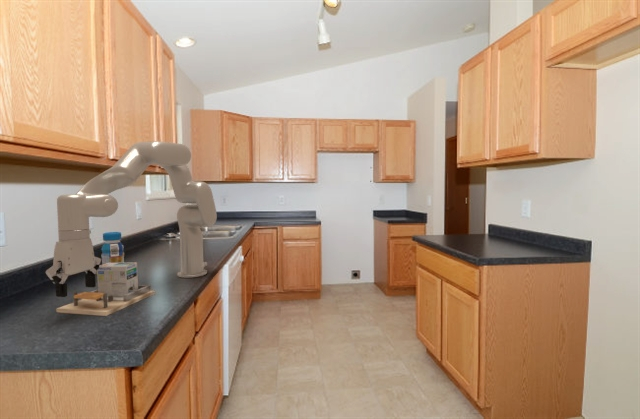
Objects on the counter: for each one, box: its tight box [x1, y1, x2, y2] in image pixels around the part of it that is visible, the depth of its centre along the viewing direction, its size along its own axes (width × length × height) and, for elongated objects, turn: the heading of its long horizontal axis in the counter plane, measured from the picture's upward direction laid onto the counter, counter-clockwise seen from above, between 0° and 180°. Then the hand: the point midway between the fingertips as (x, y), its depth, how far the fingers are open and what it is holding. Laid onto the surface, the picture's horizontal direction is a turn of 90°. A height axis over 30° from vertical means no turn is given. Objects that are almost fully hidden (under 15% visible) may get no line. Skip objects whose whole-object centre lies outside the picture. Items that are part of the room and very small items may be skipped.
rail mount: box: [56, 284, 156, 317], centre depth 112 cm, size 22×18×6 cm
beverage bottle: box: [100, 231, 125, 265], centre depth 143 cm, size 8×8×20 cm
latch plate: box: [73, 291, 104, 300], centre depth 105 cm, size 4×8×1 cm, turn 80°
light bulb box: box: [96, 261, 139, 297], centre depth 116 cm, size 11×7×11 cm, turn 89°
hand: (76, 291), depth 100 cm, fingers open, 9 cm apart
